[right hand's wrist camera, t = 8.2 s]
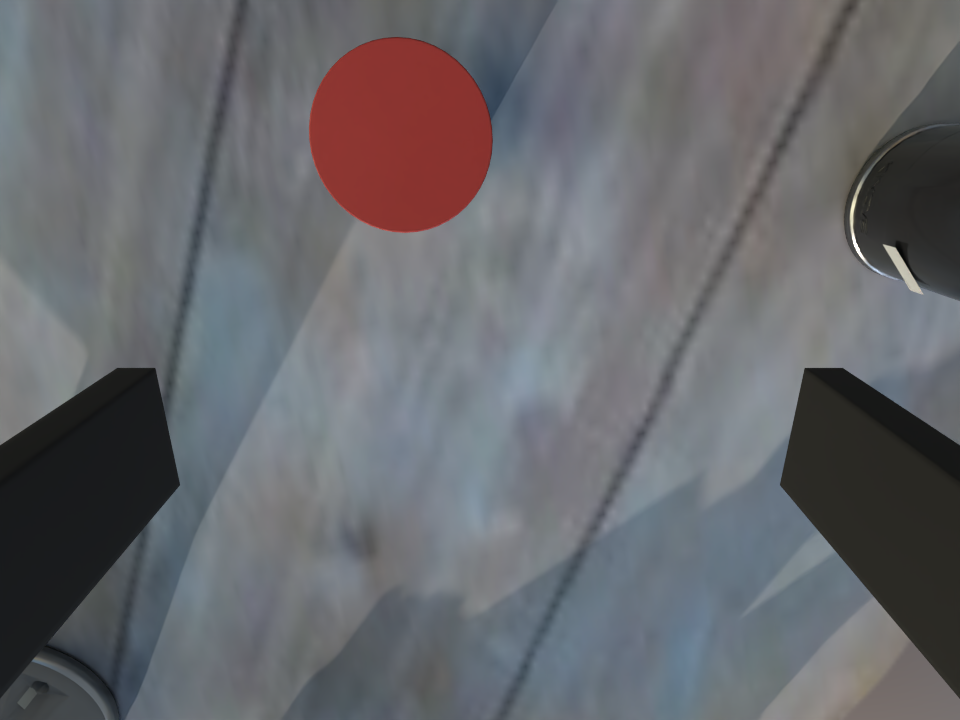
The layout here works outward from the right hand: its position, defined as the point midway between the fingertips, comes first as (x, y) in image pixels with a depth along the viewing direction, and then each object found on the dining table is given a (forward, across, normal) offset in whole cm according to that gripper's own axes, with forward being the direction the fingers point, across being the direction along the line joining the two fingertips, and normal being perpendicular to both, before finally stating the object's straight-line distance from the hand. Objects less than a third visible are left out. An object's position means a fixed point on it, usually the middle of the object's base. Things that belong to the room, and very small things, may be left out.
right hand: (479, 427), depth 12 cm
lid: (+9, -2, +5) cm, 11 cm away
